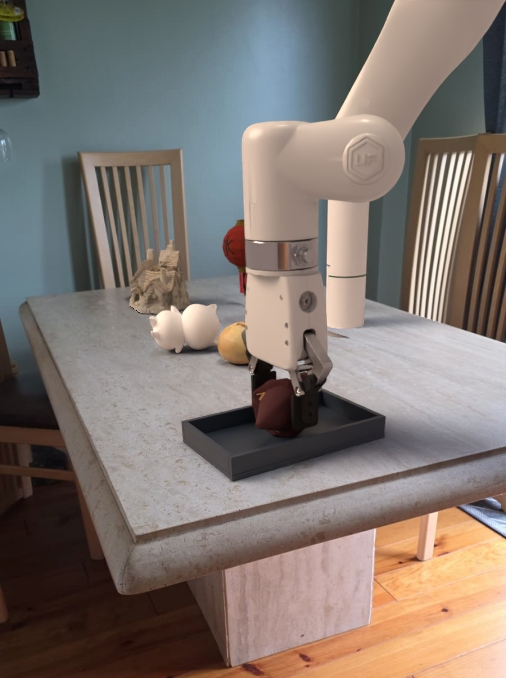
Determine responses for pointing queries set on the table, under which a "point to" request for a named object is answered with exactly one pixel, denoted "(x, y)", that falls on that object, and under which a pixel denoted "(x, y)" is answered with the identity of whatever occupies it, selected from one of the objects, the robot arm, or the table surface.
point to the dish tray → (273, 451)
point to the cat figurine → (186, 327)
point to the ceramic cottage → (159, 283)
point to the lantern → (237, 252)
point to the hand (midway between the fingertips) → (283, 414)
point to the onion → (233, 344)
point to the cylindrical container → (346, 264)
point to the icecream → (275, 407)
